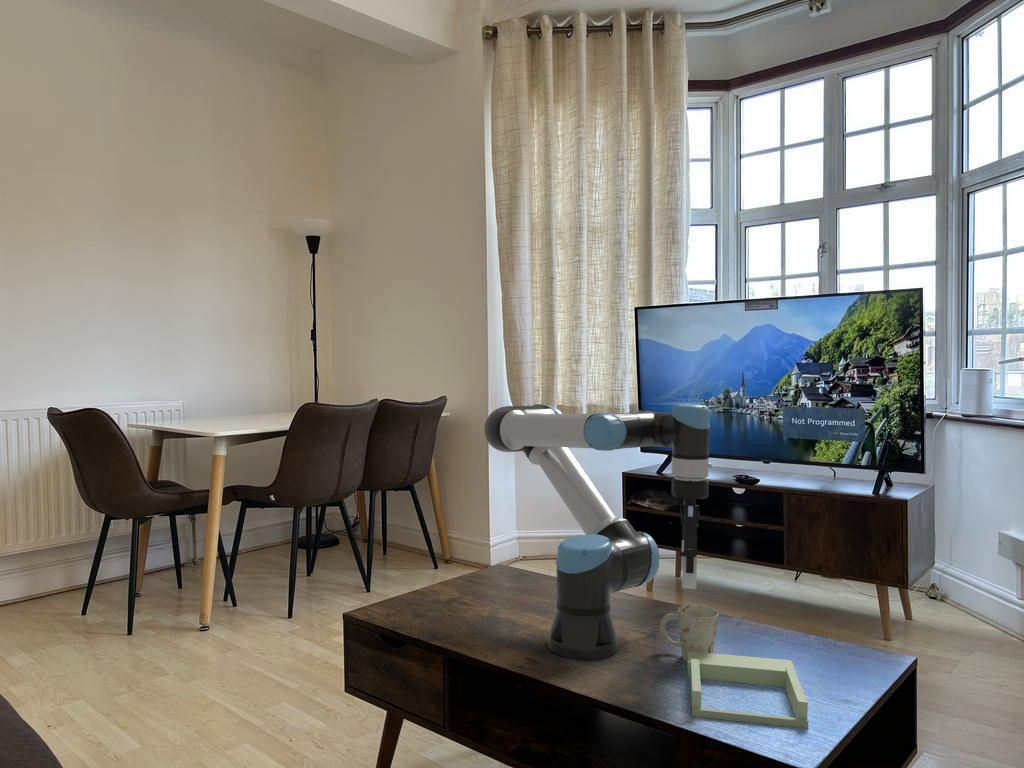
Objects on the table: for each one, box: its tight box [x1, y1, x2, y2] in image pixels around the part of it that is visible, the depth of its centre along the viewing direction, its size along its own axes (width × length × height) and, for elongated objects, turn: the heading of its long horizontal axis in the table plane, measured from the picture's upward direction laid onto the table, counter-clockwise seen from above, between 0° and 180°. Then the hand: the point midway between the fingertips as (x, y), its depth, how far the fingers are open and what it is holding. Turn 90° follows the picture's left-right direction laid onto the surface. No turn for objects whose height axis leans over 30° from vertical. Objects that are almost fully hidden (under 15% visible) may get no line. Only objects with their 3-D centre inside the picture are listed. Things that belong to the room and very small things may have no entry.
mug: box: [659, 604, 719, 663], centre depth 156 cm, size 8×13×10 cm, turn 58°
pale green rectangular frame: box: [687, 651, 809, 729], centre depth 138 cm, size 20×22×4 cm
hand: (688, 579), depth 156 cm, fingers open, 13 cm apart
